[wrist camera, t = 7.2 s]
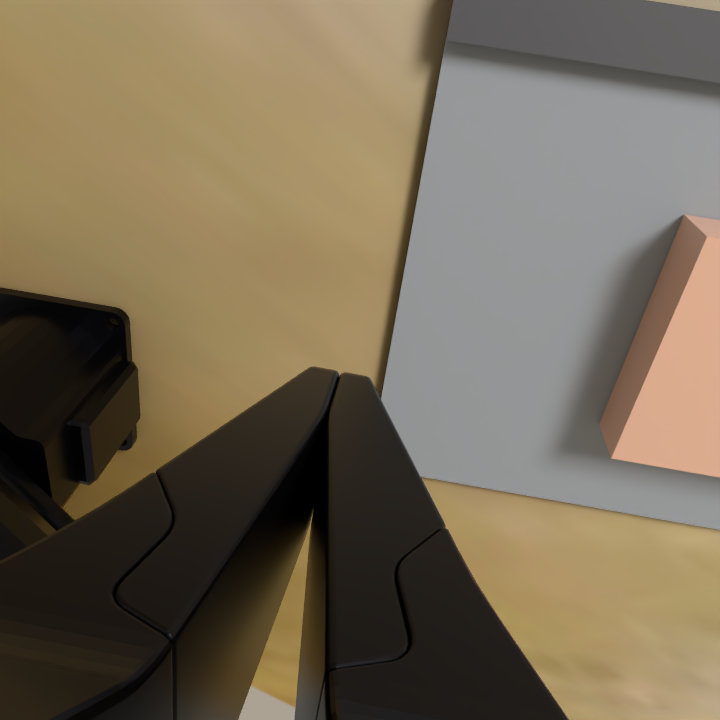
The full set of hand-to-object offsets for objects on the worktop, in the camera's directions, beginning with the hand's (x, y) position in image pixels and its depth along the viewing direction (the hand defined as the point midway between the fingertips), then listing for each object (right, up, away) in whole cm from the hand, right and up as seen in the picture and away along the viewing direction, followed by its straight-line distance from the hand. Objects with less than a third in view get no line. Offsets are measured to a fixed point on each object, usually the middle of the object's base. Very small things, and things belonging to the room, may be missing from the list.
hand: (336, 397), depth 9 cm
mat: (+11, +2, +13) cm, 17 cm away
